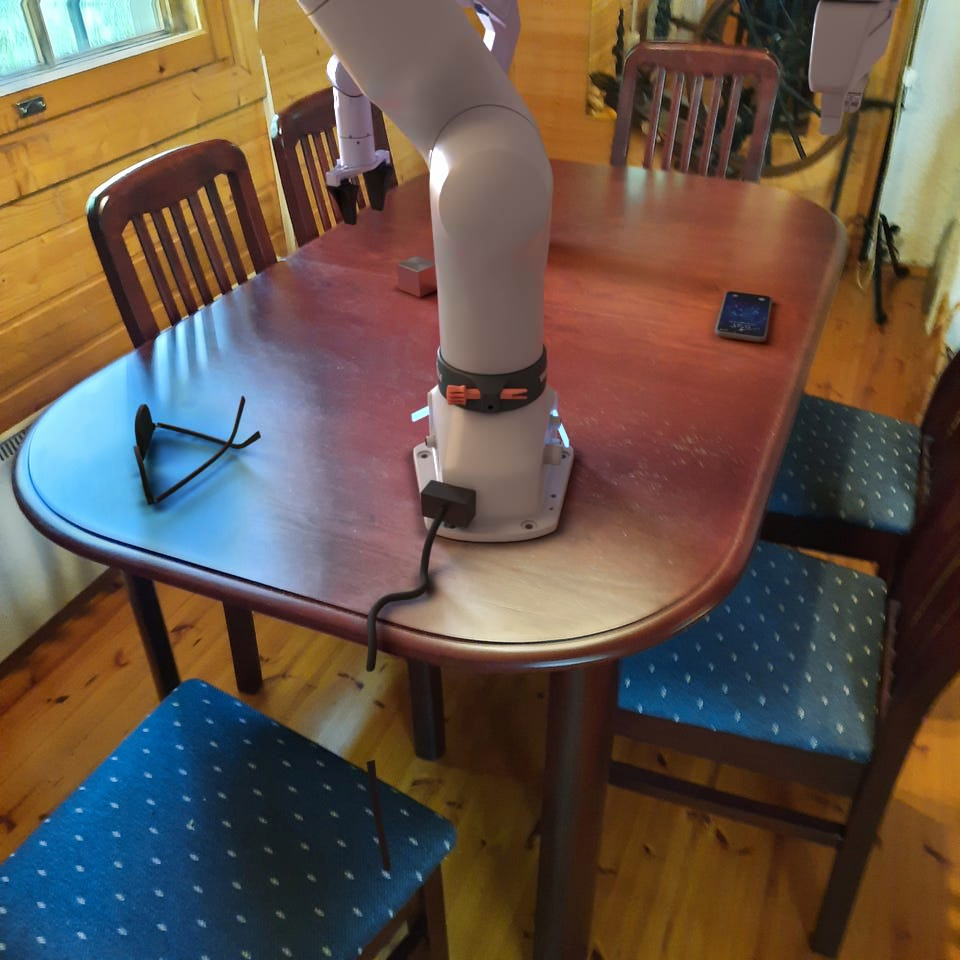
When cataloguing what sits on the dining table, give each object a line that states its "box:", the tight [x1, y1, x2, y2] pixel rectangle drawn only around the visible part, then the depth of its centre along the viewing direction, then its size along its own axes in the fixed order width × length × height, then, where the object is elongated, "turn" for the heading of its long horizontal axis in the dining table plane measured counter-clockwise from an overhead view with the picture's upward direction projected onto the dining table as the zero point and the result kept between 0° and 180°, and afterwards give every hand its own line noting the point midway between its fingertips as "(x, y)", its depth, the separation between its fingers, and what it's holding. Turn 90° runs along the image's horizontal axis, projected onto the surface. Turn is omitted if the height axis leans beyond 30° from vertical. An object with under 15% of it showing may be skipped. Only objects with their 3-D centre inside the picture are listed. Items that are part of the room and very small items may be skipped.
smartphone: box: [714, 290, 774, 343], centre depth 128 cm, size 7×1×15 cm
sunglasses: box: [132, 395, 262, 506], centre depth 100 cm, size 17×14×5 cm
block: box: [396, 255, 437, 298], centre depth 138 cm, size 4×5×4 cm
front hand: (839, 122), depth 88 cm, fingers open, 8 cm apart
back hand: (364, 216), depth 146 cm, fingers open, 7 cm apart
